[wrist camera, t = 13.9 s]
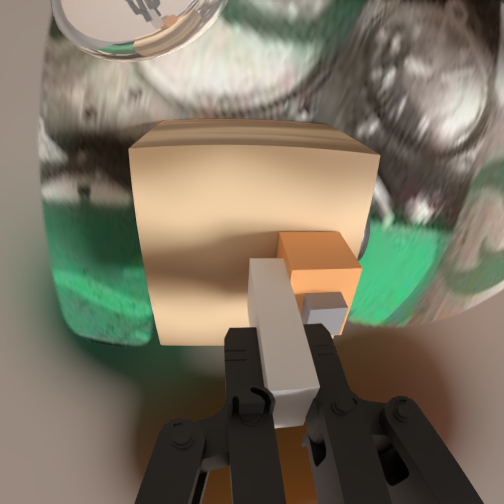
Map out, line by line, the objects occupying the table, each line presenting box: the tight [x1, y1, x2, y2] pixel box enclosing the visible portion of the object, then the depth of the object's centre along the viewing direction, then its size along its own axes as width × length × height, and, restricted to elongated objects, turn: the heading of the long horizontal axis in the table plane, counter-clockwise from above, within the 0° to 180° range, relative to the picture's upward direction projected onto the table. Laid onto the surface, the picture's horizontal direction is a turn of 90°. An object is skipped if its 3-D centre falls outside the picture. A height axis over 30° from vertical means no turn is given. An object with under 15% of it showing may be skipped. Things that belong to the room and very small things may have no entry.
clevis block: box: [129, 119, 380, 345], centre depth 19 cm, size 12×11×8 cm
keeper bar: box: [277, 232, 362, 336], centre depth 14 cm, size 4×3×4 cm
